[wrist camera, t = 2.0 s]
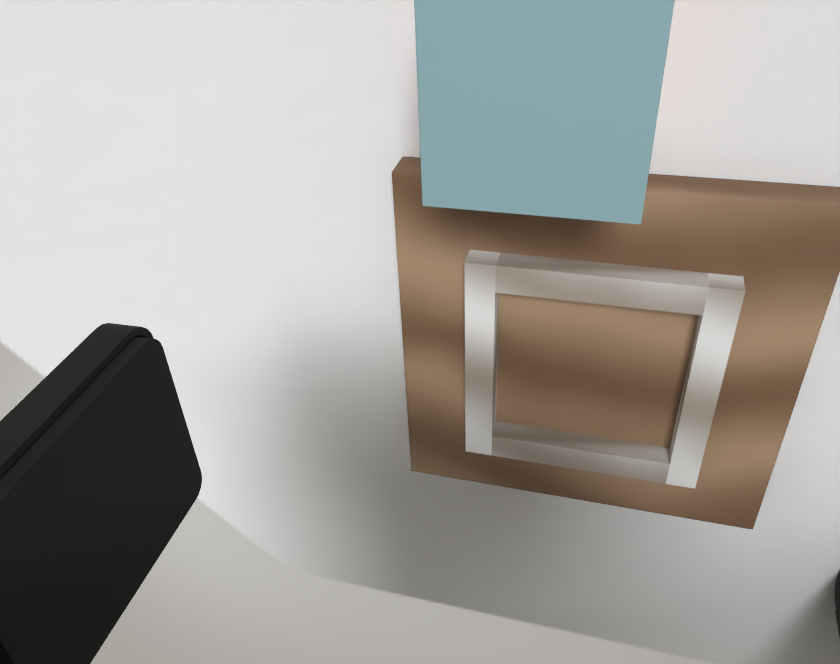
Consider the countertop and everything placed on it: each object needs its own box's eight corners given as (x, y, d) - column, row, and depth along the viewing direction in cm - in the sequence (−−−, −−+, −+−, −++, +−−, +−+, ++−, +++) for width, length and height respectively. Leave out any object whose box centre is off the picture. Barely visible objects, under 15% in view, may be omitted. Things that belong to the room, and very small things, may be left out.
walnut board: (402, 156, 29) (383, 183, 27) (852, 188, 25) (867, 221, 24) (419, 449, 39) (406, 485, 37) (749, 504, 35) (754, 547, 33)
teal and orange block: (480, -75, 24) (413, -25, 18) (676, -76, 22) (677, -22, 16) (478, 109, 27) (422, 205, 21) (648, 118, 26) (640, 224, 20)
